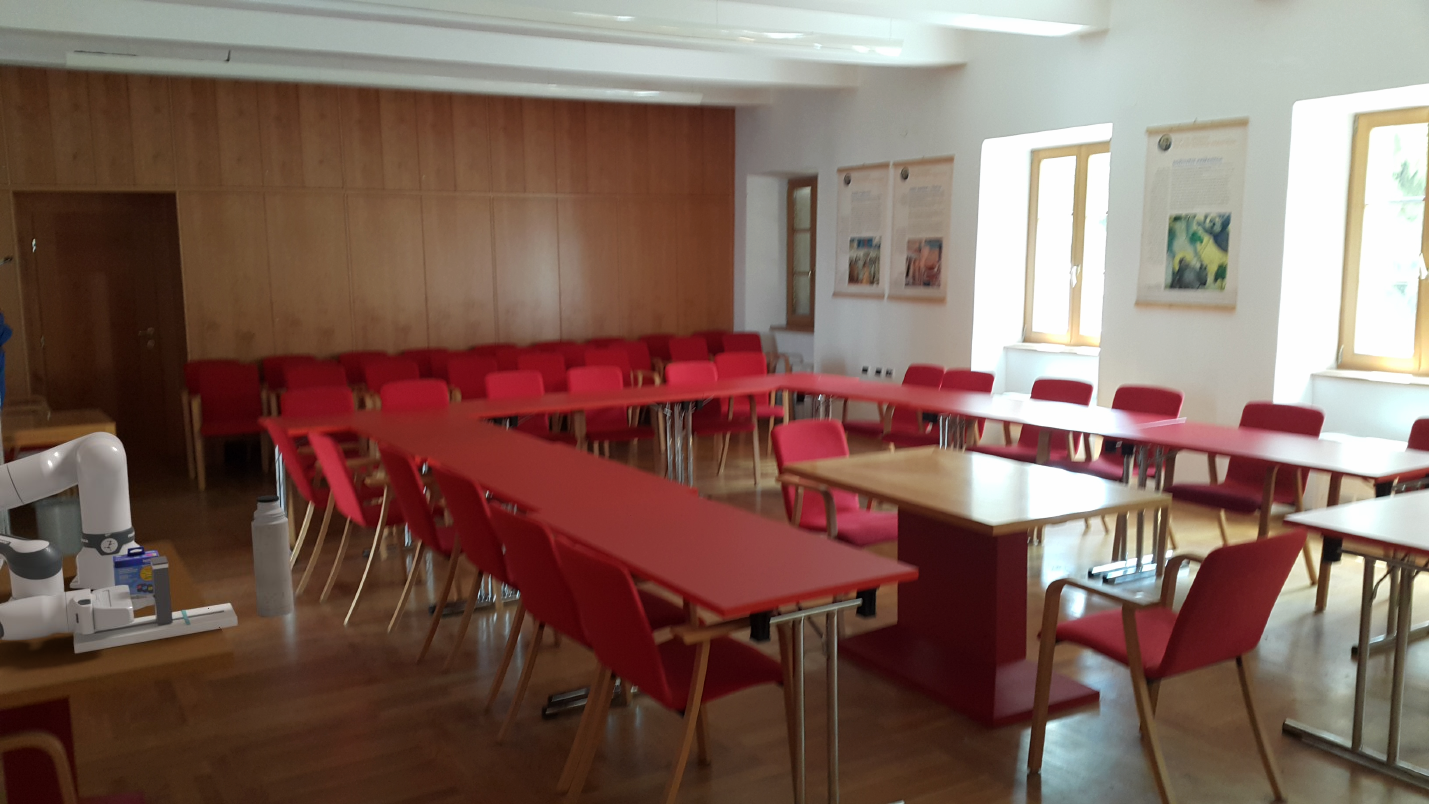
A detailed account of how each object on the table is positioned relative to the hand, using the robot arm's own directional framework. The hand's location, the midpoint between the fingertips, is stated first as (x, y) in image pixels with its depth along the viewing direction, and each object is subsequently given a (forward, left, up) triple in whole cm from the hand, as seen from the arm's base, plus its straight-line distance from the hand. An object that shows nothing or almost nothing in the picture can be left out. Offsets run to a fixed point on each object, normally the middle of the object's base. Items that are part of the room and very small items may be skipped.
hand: (154, 599), depth 237 cm
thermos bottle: (0, +25, -8) cm, 26 cm away
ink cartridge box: (-26, -2, -8) cm, 27 cm away
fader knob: (-1, +2, -5) cm, 6 cm away
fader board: (-1, 0, -8) cm, 8 cm away
